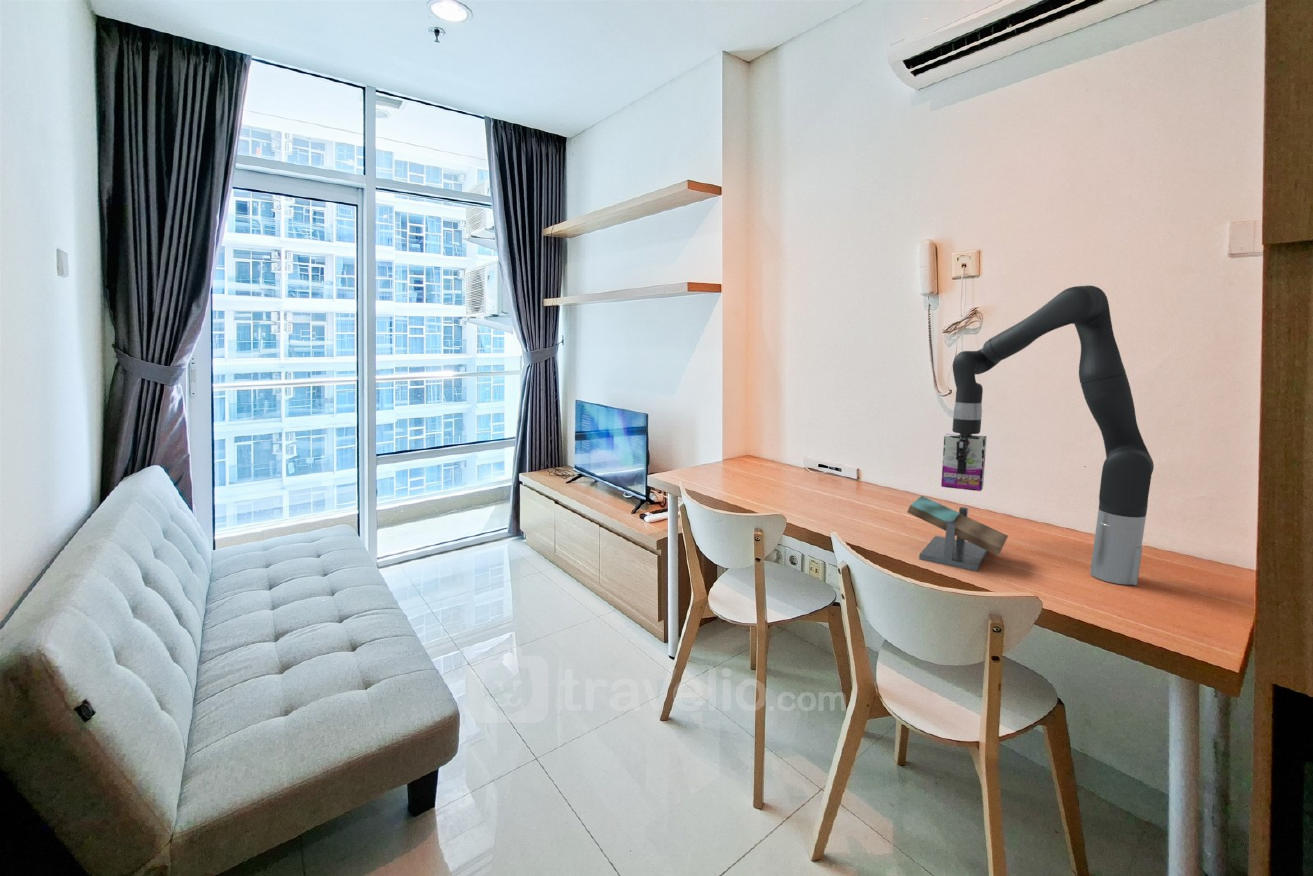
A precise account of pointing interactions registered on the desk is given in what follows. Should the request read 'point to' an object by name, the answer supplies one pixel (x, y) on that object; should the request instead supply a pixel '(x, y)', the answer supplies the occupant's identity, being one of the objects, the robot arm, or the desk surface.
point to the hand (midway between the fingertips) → (962, 471)
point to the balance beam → (959, 524)
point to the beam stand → (954, 549)
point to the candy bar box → (973, 465)
